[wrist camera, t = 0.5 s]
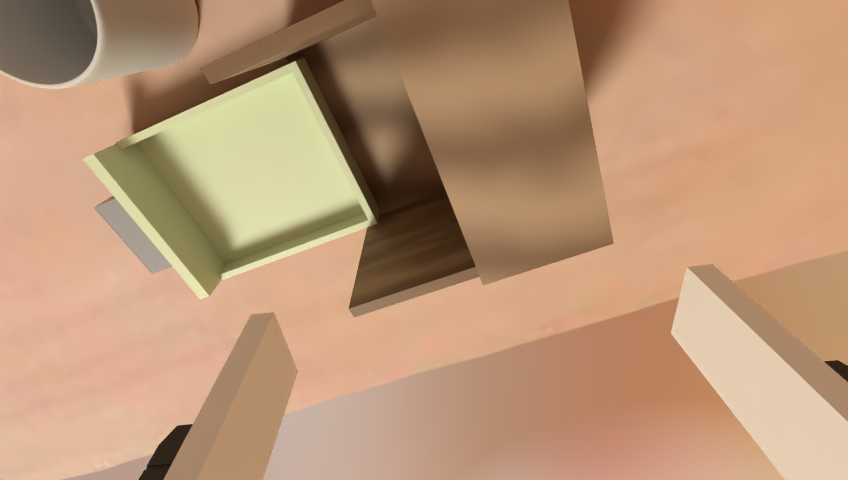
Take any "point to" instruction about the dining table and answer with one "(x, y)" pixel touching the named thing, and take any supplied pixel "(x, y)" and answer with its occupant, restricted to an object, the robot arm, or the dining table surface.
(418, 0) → the cubby
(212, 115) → the tray
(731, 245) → the dining table surface
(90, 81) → the mug
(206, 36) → the dining table surface
